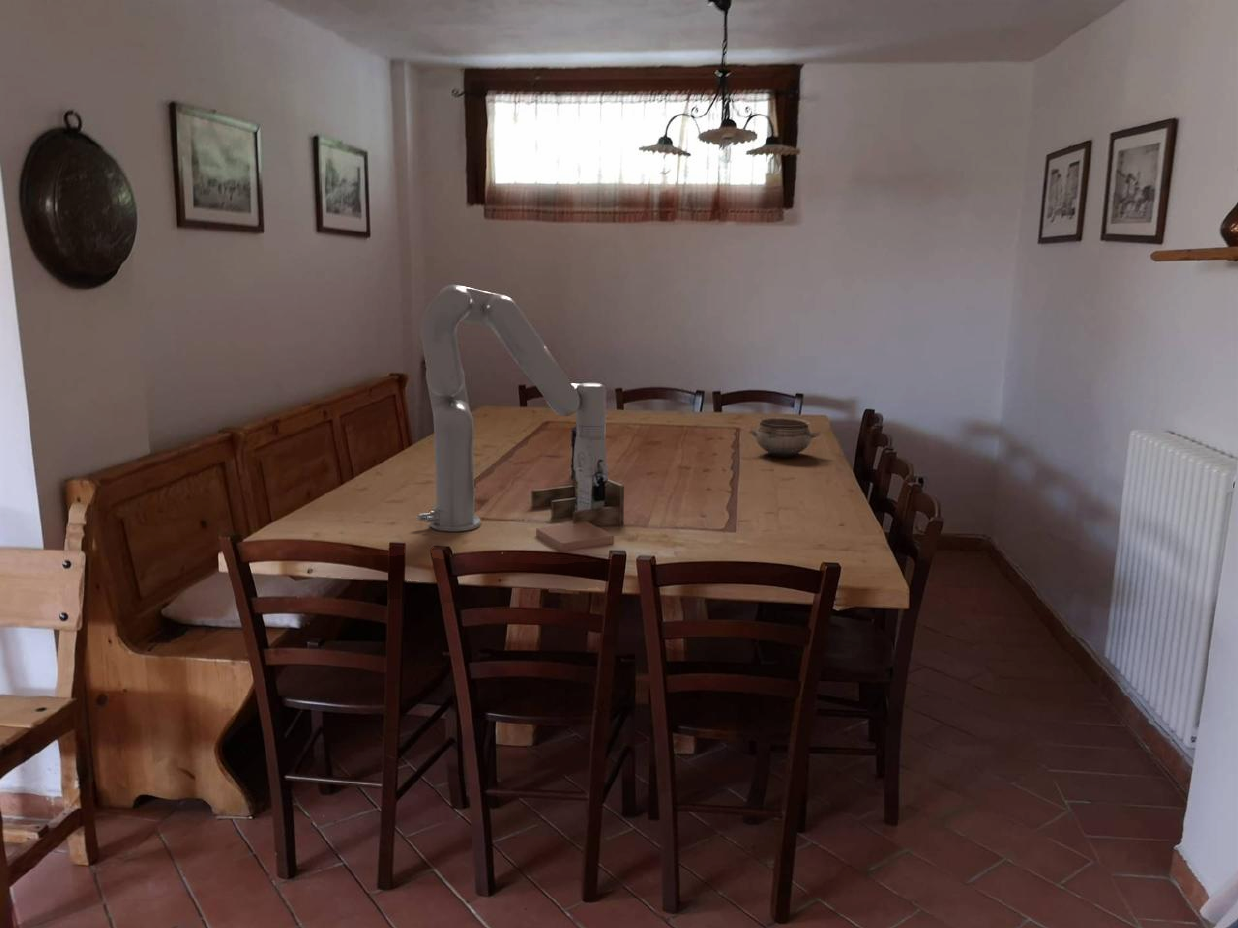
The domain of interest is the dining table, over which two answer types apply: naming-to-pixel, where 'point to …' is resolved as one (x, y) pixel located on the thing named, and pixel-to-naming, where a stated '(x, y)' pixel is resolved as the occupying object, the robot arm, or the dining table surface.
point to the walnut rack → (565, 506)
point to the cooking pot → (783, 435)
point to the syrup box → (585, 492)
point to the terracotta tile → (574, 536)
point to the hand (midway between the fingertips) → (590, 496)
